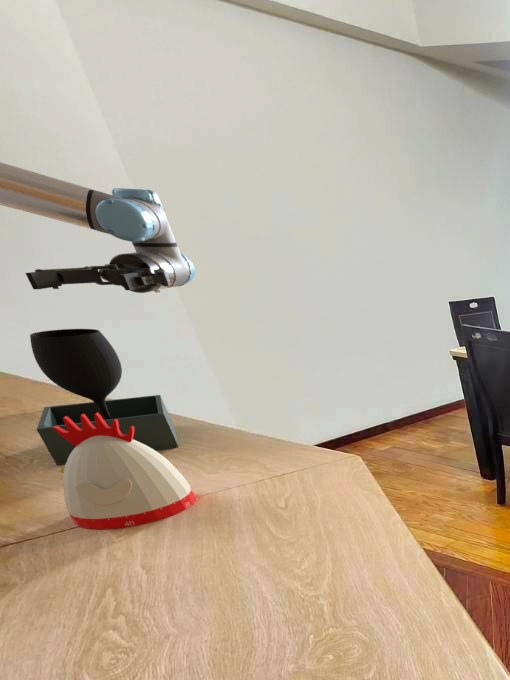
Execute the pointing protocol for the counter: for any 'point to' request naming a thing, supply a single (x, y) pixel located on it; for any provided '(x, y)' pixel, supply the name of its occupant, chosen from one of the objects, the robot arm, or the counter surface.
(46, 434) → the bin
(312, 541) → the counter surface
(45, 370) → the wine glass
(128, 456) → the kitchen timer
